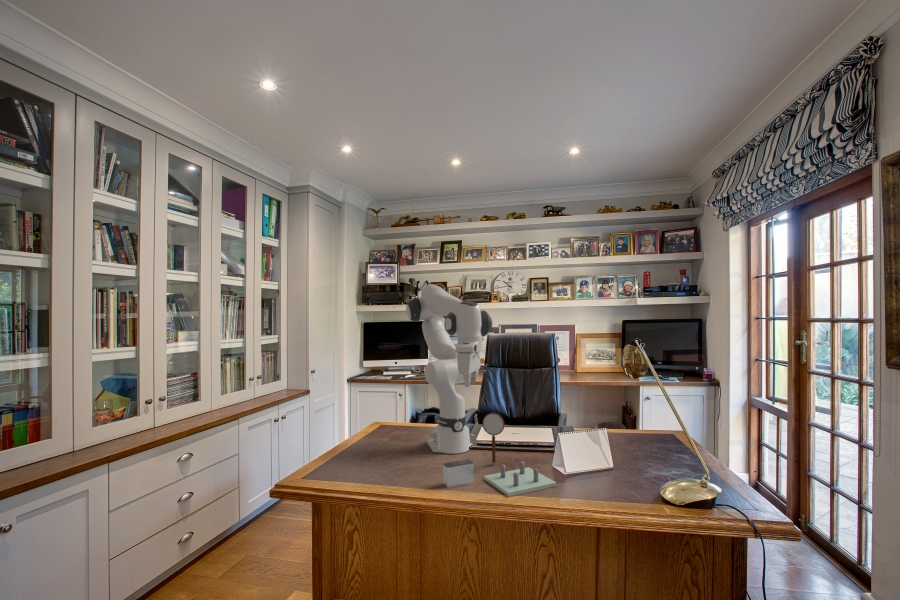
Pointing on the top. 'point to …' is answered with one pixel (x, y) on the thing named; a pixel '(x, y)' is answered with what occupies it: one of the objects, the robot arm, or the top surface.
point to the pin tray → (519, 480)
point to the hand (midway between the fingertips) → (470, 384)
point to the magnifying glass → (493, 428)
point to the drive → (458, 473)
